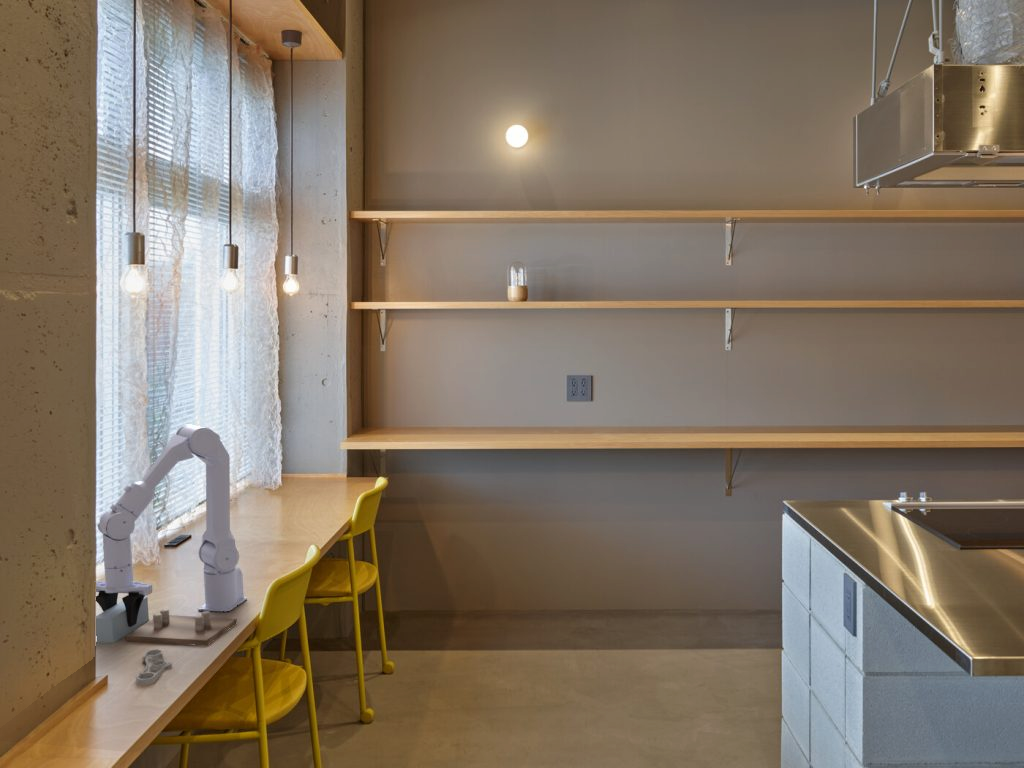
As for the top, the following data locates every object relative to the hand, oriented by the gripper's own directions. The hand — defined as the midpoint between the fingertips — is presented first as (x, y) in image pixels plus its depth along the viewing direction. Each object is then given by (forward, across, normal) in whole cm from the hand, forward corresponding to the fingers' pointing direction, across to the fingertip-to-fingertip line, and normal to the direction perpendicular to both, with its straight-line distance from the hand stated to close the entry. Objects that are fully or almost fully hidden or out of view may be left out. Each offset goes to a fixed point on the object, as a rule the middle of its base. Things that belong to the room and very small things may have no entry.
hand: (122, 624), depth 203 cm
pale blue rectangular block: (+1, 0, 0) cm, 1 cm away
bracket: (+2, +19, -18) cm, 27 cm away
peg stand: (+1, +14, +1) cm, 14 cm away
